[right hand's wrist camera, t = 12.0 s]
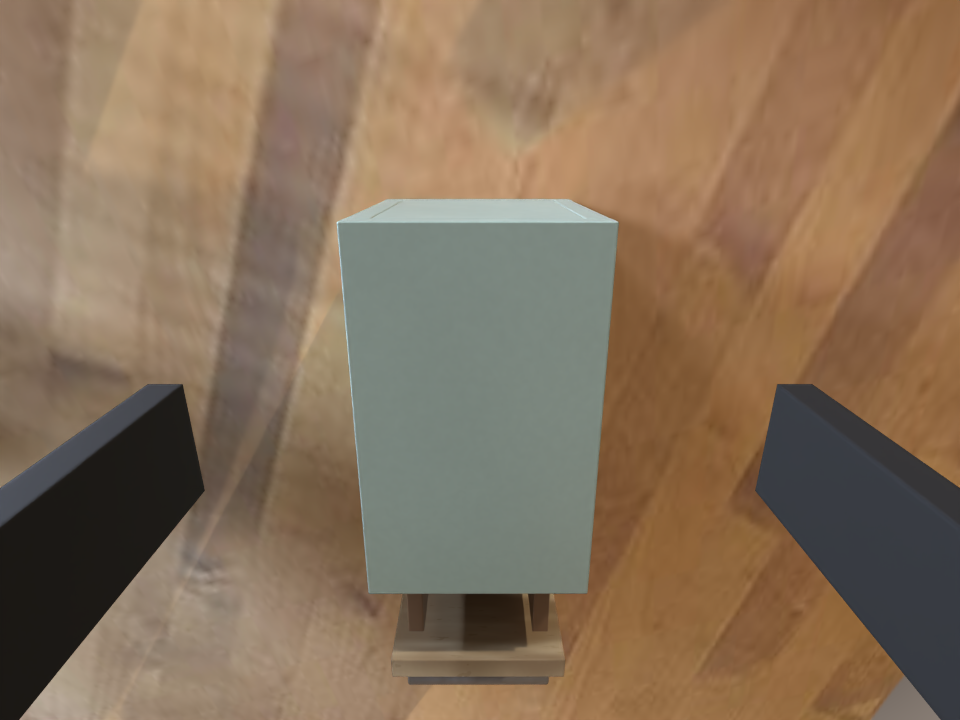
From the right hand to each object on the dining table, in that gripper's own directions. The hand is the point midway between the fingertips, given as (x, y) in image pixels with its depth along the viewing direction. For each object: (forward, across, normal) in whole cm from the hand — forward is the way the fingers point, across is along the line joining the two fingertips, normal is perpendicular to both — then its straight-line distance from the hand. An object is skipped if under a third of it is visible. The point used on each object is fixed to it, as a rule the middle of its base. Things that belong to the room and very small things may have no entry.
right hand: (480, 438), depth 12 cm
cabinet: (+21, 0, -5) cm, 21 cm away
